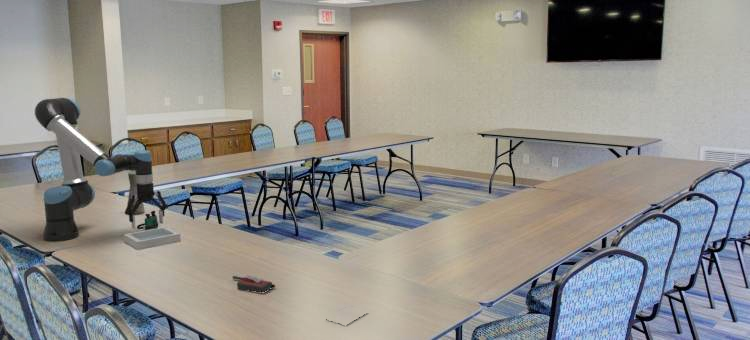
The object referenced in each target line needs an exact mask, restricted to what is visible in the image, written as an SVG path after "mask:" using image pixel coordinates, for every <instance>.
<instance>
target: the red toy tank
mask: <svg viewBox="0 0 750 340" xmlns="http://www.w3.org/2000/svg"><path fill="white" fill-rule="evenodd" d="M232 279H234V280H239V281H237V283H236V285H237V290H239V289H243V290H242V291H244V290H249V291H248V292H250V291H256V292H261V293H262V292H265V291H267V290H269V289H270V288H272V289H273V288H276V284H273V282H271V281H266V280H264V279H263V278H258V277H255V276H251V275H246V276H245V277H243V276H241V277H240V276H236V275H234V276H232ZM269 291H270V290H269ZM267 292H268V291H267Z"/></svg>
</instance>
